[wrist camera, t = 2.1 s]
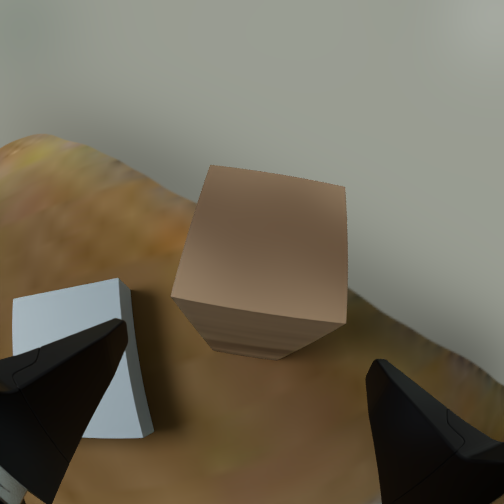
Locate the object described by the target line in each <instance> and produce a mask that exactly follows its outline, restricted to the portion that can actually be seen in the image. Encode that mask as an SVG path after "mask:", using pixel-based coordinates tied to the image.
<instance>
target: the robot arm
mask: <svg viewBox="0 0 504 504" xmlns="http://www.w3.org/2000/svg"><path fill="white" fill-rule="evenodd" d="M127 344H128V331H127V324H126V321H125V320H122V319H118V318H114V319H111V320H109V321H106V322H103V323H101V324H98V325H96V326H93V327H91V328H88V329H85V330H83V331H80V332H78V333H75V334H72V335H70V336H67V337H65V338H62V339H59V340H57V341H54V342H52V343H49V344H46V345H44V346H41V347H38V348H36V349H33V350H30V351H27V352H25V353H22V354H19V355H15V356H12V357H8V358H5V359H1V360H0V504H26V503H25V501H24V496H25V495H26V493H27V491H29V492H30V493H31V494H33V495H34V496H36V497H37V498H38V499H40V500H41V501H43V502H44V503H46V504H52V503H53V500H54V498H55V495H56V493H57V491H58V488H59V486H60V484H61V481H62V479H63V477H64V475H65V472H66V470H67V468H68V466H69V463H70V461H71V459H72V457H73V455H74V453H75V451H76V449H77V447H78V444H79V442H80V440H81V438H82V436H83V434H84V432H85V430H86V428H87V426H88V424H89V422H90V420H91V419H92V417H93V415H94V413H95V411H96V409H97V407H98V405H99V403H100V401H101V400H102V398H103V396H104V394H105V392H106V390H107V388H108V387H109V385H110V383H111V381H112V379H113V377H114V375H115V373H116V371H117V368H118V366H119V363H120V361H121V359H122V356H123V354H124V352H125V349H126V347H127ZM366 391H367V402H368V413H369V420H370V425H371V430H372V436H373V442H374V448H375V454H376V460H377V467H378V474H379V482H380V490H381V499H382V504H504V442H499V441H495V440H493V439H491V438H490V437H488V436H487V435H485V434H483V433H482V432H480V431H479V430H477V429H476V428H474V427H473V426H471V425H470V424H468V423H467V422H465V421H464V420H462V419H461V418H460V417H458V416H457V415H456V414H454V413H453V412H452V411H450V410H449V409H447V408H446V407H445V406H444V405H443V404H442V403H440V402H439V401H438V400H436V399H435V398H434V397H433V396H431V395H430V394H429V393H428V392H426V391H425V390H424V389H422V388H421V387H420V386H419V385H417V384H416V383H415V382H414V381H412V380H411V379H410V378H408V377H407V376H406V375H405V374H403V373H402V372H401V371H400V370H398V369H397V368H396V367H395V366H393V365H392V364H391V363H389V362H388V361H387V360H385V359H375V360H374V361H373V363H372V365H371V367H370V369H369V371H368V373H367V375H366Z"/></svg>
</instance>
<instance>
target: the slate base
mask: <svg viewBox="0 0 504 504" xmlns="http://www.w3.org/2000/svg"><path fill="white" fill-rule="evenodd" d="M114 318H118V319H122V320H125V321H126V324H127V331H128V344H127V347H126V349H125V352H124V354H123V356H122V359H121V361H120V363H119V366H118V368H117V371H116V373H115V375H114V377H113V379H112V381H111V383H110V385H109V387H108V388H107V390H106V392H105V394H104V396H103V398H102V400H101V401H100V403H99V405H98V407H97V409H96V411H95V413H94V415H93V417H92V419H91V420H90V422H89V424H88V426H87V428H86V430H85V432H84V434H83V436H82V437H86V438H144V437H145V436H147V435H149V434H151V433H153V432H154V428H153V425H152V421H151V417H150V412H149V408H148V404H147V399H146V395H145V390H144V385H143V380H142V375H141V369H140V364H139V358H138V351H137V345H136V338H135V330H134V322H133V313H132V303H131V292H130V289H129V288H128V287H127V286H126V285H125V284H124V283H123V282H122V281H121V280H120V279H119V278H116V279H111V280H106V281H101V282H96V283H91V284H86V285H81V286H76V287H71V288H66V289H61V290H56V291H51V292H46V293H41V294H36V295H31V296H26V297H21V298H16V299H13V320H12V335H13V356H15V355H19V354H22V353H25V352H27V351H30V350H33V349H36V348H38V347H41V346H44V345H46V344H49V343H52V342H54V341H57V340H59V339H62V338H65V337H67V336H70V335H72V334H75V333H78V332H80V331H83V330H85V329H88V328H91V327H93V326H96V325H98V324H101V323H103V322H106V321H109V320H111V319H114Z"/></svg>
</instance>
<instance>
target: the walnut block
mask: <svg viewBox="0 0 504 504" xmlns="http://www.w3.org/2000/svg"><path fill="white" fill-rule="evenodd" d="M346 213H347V212H346V195H345V187H343V186H338V185H333V184H328V183H324V182H318V181H313V180H308V179H302V178H297V177H292V176H286V175H280V174H274V173H267V172H261V171H253V170H246V169H239V168H232V167H223V166H215V165H210V167H209V170H208V173H207V176H206V179H205V182H204V185H203V188H202V191H201V194H200V197H199V200H198V203H197V206H196V209H195V212H194V216H193V219H192V222H191V225H190V229H189V232H188V235H187V239H186V242H185V245H184V249H183V252H182V256H181V260H180V263H179V267H178V270H177V274H176V278H175V282H174V285H173V289H172V293H171V298H172V299H173V300H174V302H175V303H176V304H177V306H178V307H179V308H180V310H181V311H182V312H183V313H184V315H185V316H186V317H187V319H188V320H189V321H190V322H191V324H192V325H193V326H194V328H195V329H196V330H197V331H198V333H199V334H200V335H201V336H202V337H203V339H204V340H205V341H206V342H207V344H208V345H209V346H210V347H211V348H212V350H214V351H219V352H224V353H230V354H236V355H242V356H248V357H255V358H262V359H269V360H279V359H281V358H283V357H285V356H287V355H289V354H291V353H293V352H295V351H297V350H299V349H301V348H303V347H305V346H307V345H308V344H310V343H312V342H314V341H316V340H318V339H320V338H322V337H323V336H325V335H327V334H329V333H331V332H332V331H334V330H336V329H338V328H339V327H341V326H343V325H345V324H346V316H347V287H348V242H347V214H346Z"/></svg>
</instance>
